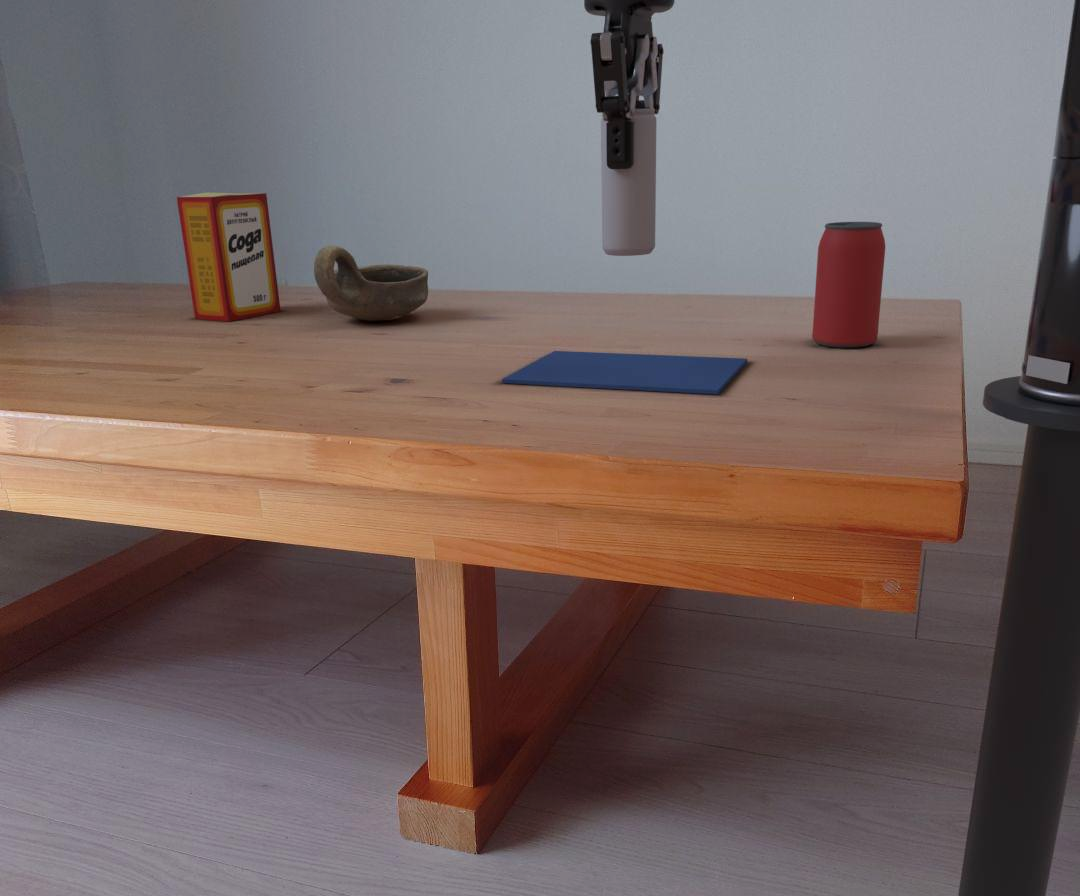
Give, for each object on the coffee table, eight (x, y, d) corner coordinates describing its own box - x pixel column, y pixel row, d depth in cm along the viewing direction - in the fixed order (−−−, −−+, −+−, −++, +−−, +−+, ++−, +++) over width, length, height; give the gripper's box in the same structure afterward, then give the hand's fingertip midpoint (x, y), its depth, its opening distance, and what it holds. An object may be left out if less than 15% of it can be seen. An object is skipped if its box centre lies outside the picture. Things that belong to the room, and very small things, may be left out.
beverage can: (666, 252, 91) (668, 108, 87) (631, 257, 88) (631, 108, 84) (626, 250, 95) (626, 111, 90) (590, 254, 91) (589, 111, 87)
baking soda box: (247, 308, 144) (231, 190, 138) (280, 311, 141) (265, 190, 135) (195, 318, 137) (176, 194, 131) (228, 321, 133) (210, 194, 128)
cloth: (747, 362, 98) (747, 358, 98) (718, 394, 86) (718, 390, 86) (554, 354, 105) (554, 350, 105) (502, 383, 93) (501, 379, 93)
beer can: (882, 339, 107) (893, 221, 103) (870, 350, 101) (881, 226, 97) (819, 336, 110) (827, 221, 105) (805, 347, 104) (812, 226, 100)
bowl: (454, 314, 133) (449, 235, 129) (367, 336, 119) (359, 248, 115) (373, 309, 140) (367, 234, 136) (283, 329, 126) (272, 246, 122)
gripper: (650, -74, 75) (649, 169, 81) (693, -44, 87) (689, 165, 94) (556, -64, 78) (561, 171, 84) (611, -36, 90) (612, 167, 96)
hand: (629, 167), depth 89 cm, fingers closed on beverage can, 5 cm apart
